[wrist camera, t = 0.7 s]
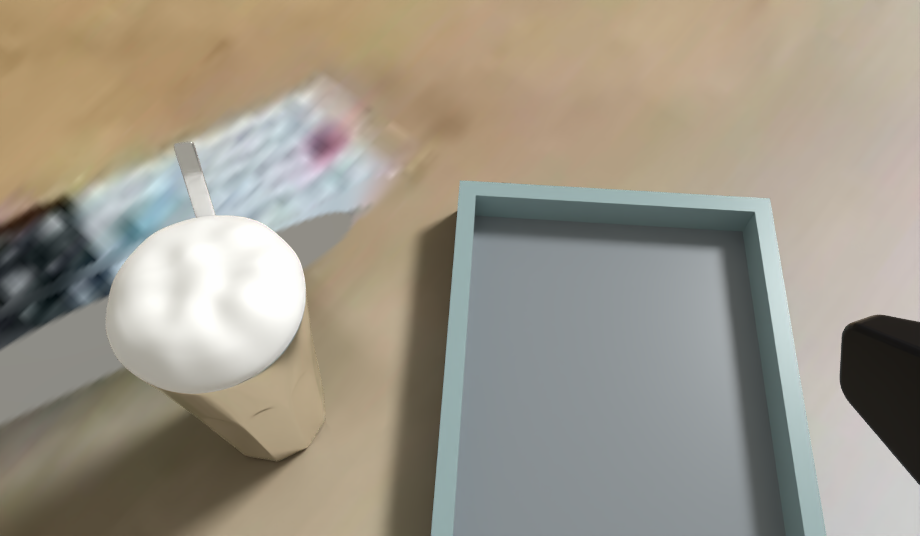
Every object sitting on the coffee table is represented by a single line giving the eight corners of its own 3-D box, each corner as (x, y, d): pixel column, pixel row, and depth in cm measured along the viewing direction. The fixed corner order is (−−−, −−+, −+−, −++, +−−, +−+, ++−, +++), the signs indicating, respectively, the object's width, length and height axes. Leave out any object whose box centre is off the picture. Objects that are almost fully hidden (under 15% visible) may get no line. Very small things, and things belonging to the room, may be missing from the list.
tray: (827, 723, 20) (857, 725, 19) (420, 692, 21) (418, 691, 19) (752, 226, 28) (769, 198, 27) (459, 208, 29) (460, 180, 27)
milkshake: (339, 318, 26) (283, 130, 18) (352, 470, 24) (294, 338, 15) (206, 336, 26) (82, 153, 17) (205, 493, 23) (57, 371, 15)
